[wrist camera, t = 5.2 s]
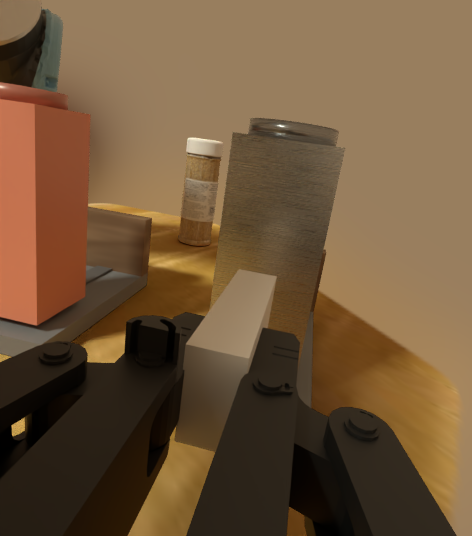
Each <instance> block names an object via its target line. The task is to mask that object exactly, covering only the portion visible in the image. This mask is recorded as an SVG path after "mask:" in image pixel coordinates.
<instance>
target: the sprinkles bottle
mask: <svg viewBox="0 0 472 536" xmlns="http://www.w3.org/2000/svg"><path fill="white" fill-rule="evenodd" d="M186 152H187V153H188V154H187V163H186V173H185V183H184V191H183V197H182V208H181V224H180V233H179V236H178V239H179V241H180V242H183V243H185V244H189V245H194V246H206V245H209V244H210V243H211V231H212V223H213V219H214V210H215V204H216V195H217V188H218V176H219V166H220V161H221V157H222V153H223V143H222V142H219V141H214V140H206V139H200V138H188V140H187V149H186Z"/></svg>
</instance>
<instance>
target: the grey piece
mask: <svg viewBox="0 0 472 536" xmlns="http://www.w3.org/2000/svg"><path fill="white" fill-rule="evenodd" d="M151 223H152V218H148V217H142V216H137V215H131V214H126V213H120V212H115V211H109V210H104V209H98V208H93V207H88V217H87V252H86V287H85V297H84V298H82V299H81V300H79V301H77V302H76V303H74V304H72V305H71V306H69V307H67V308H66V309H64V310H62V311H61V312H59V313H57V314H56V315H54V316H52V317H51V318H49V319H47V320H46V321H44V322H42V323H40V324H39V325H32V324H28V323H24V322H20V321H15V320H11V319H7V318H3V317H0V354H4V355H8V356H12V357H13V356H16V355H18V354H20V353H22V352H25V351H27V350H29V349H31V348H34V347H36V346H39V345H42V344H45V343H51V342H56V341H63V342H64V341H66V342H71V341H72V340H74V339H75V338H76V337H78V336H79V335H80V334H82V333H83V332H84V331H86V330H87V329H88V328H90V327H91V326H92V325H94V324H95V323H96V322H98V321H99V320H100V319H102V318H103V317H104V316H106V315H107V314H109V313H110V312H111V311H113V310H114V309H115V308H117V307H118V306H119V305H121V304H122V303H123V302H125V301H126V300H127V299H129V298H130V297H131V296H133V295H134V294H135V293H137V292H138V291H139V290H141V289H142V288H143V287H145V286H146V285H147V275H148V262H149V249H150V236H151Z"/></svg>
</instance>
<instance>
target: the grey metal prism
mask: <svg viewBox="0 0 472 536" xmlns="http://www.w3.org/2000/svg"><path fill="white" fill-rule="evenodd" d="M338 134H339V131H338V130H335V129H332V128H327V127H322V126H317V125H312V124H305V123H299V122H292V121H284V120H275V119H264V118H251V119H250V124H249V131H248V134H242V133H235V132H233V134H232V142H231V150H230V157H229V165H228V173H227V180H226V188H225V195H224V203H223V211H222V218H221V226H220V234H219V241H218V249H217V257H216V264H215V272H214V279H213V287H212V295H211V302H210V309H211V308H212V306H213V305H214V304H215V302H216V301H217V299H218V298H219V297H220V295H221V294H222V292H223V291H224V289H225V288H226V287H227V285H228V284H229V282H230V281H231V280H232V278H233V277H234V275H235V274H236V273H237V271H238V270H239V269H241V270H246V271H251V272H256V273H261V274H267V275H272V276H277V278H276V284H275V290H274V295H273V301H272V306H271V312H270V317H269V323H268V329H273V330H277V331H282V332H287V333H291V334H294V335H295V336H296V338H297V339H298V341H299V342H300V349H299V361H298V366H299V362H300V357H301V352H302V347H303V343H304V338H305V333H306V329H307V324H308V319H309V315H310V310H311V305H312V301H313V296H314V291H315V287H316V282H317V277H318V273H319V268H320V263H321V259H322V254H323V249H324V245H325V240H326V235H327V230H328V226H329V221H330V217H331V212H332V207H333V203H334V198H335V193H336V189H337V183H338V179H339V175H340V170H341V165H342V161H343V156H344V151H345V148H341V147H336V144H337V138H338ZM209 311H210V310H209Z"/></svg>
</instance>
